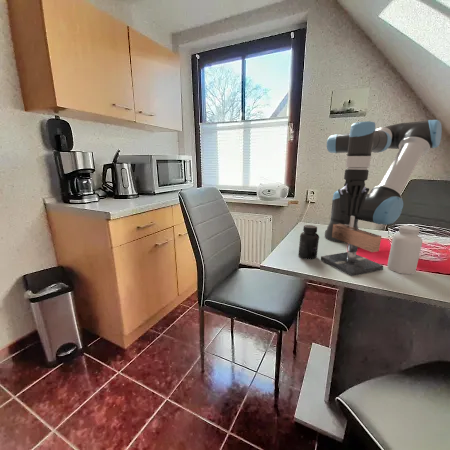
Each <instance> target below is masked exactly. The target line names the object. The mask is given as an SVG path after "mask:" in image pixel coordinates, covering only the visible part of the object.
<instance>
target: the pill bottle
mask: <svg viewBox="0 0 450 450" xmlns="http://www.w3.org/2000/svg"><path fill="white" fill-rule="evenodd" d="M420 231H421V229H420V228H419V227H417V226H414V225H406V224H404V225H400V226H399V229H398V233H394V234H393V237H392V240H391V245H390V250H389V253H388V254H389V255H388V259H387V264H386V265H387V268H388V269H389V270H391V271H392V272H396V273H399V274H403V275H413V274H415V273H416V271H417V266H418V263H419V260H420V259H419V258H420V255H421V251H422V245H423V239H422V238H421V236H419V235H420Z"/></svg>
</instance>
